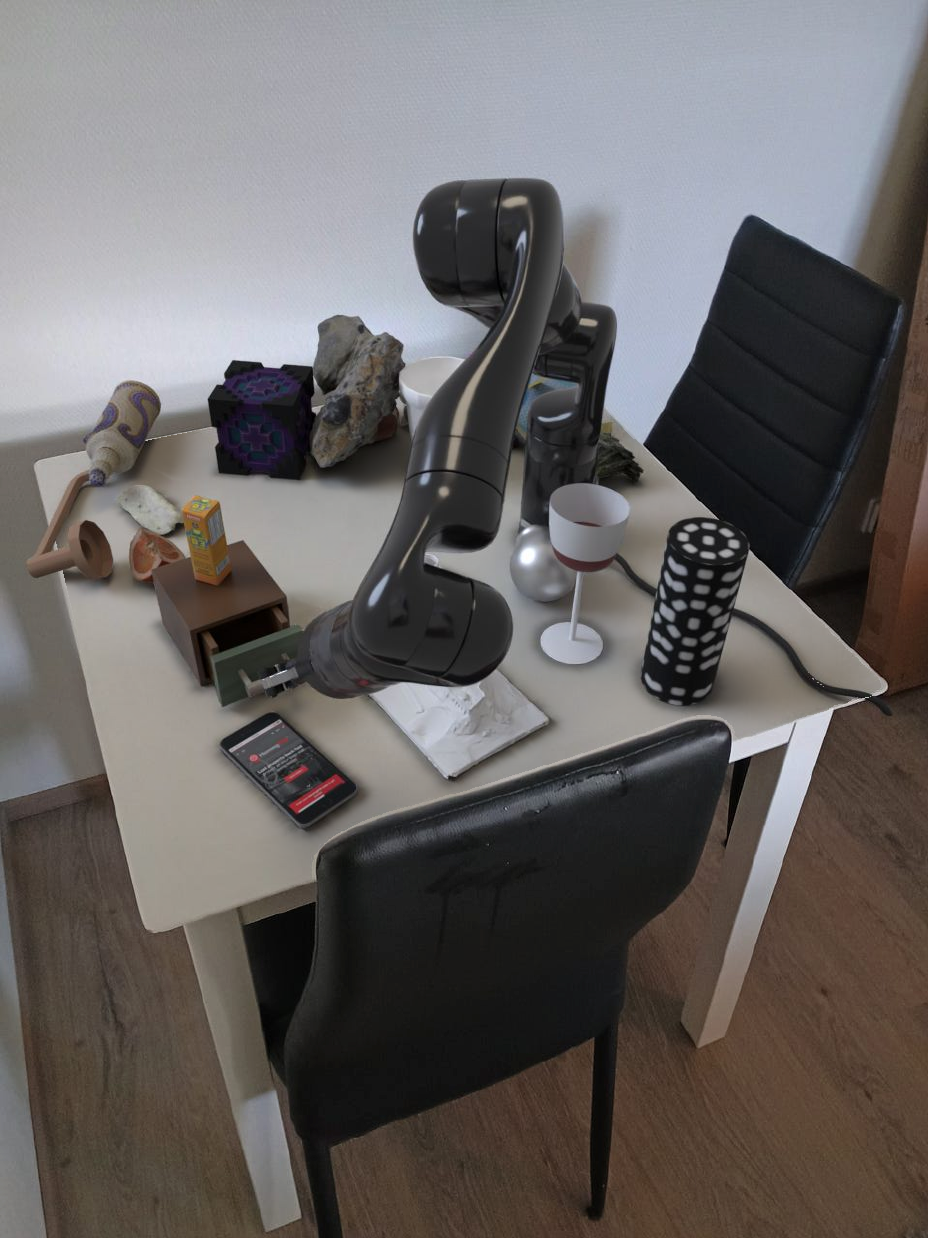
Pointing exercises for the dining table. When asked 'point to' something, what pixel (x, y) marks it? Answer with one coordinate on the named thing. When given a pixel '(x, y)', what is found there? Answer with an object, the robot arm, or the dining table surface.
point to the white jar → (432, 560)
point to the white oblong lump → (150, 509)
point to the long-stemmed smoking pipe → (73, 542)
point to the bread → (387, 426)
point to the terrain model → (461, 719)
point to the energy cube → (263, 419)
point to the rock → (352, 386)
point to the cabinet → (212, 600)
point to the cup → (424, 384)
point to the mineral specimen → (615, 459)
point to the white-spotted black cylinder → (693, 609)
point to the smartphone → (288, 768)
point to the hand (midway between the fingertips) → (302, 668)
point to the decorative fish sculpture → (538, 388)
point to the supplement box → (206, 540)
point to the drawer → (246, 651)
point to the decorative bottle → (121, 430)
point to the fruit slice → (150, 554)
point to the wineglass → (582, 557)
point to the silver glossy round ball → (539, 566)
